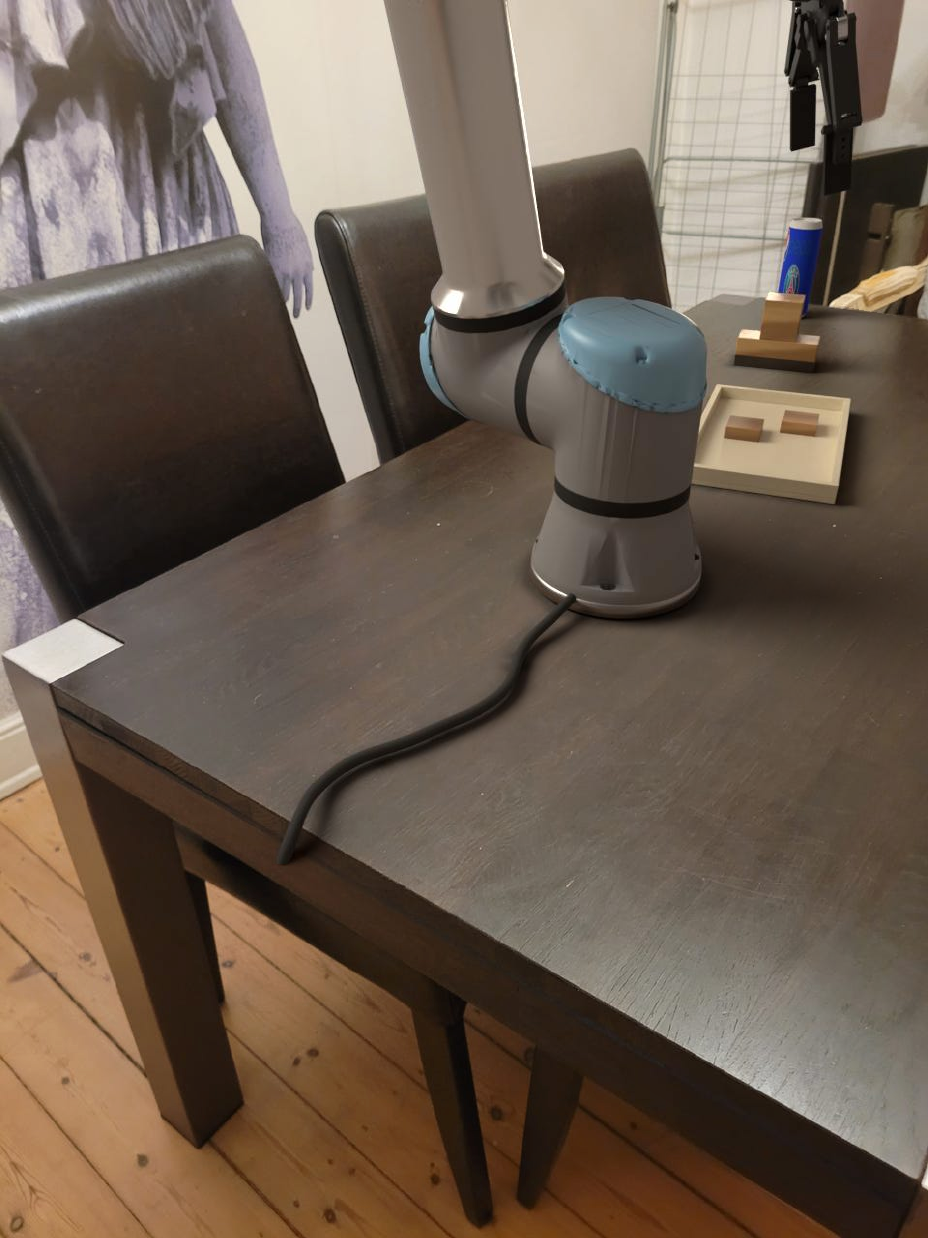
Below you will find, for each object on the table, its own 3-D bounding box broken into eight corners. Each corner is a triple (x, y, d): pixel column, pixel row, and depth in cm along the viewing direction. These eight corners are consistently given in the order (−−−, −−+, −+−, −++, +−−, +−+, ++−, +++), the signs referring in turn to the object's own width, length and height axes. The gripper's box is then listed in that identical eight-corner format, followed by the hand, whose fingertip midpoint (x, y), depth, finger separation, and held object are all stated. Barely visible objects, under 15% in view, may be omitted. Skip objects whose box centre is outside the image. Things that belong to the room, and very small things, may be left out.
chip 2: (814, 437, 110) (817, 425, 109) (779, 432, 111) (781, 420, 110) (817, 425, 113) (819, 413, 112) (783, 421, 114) (785, 409, 113)
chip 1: (758, 442, 108) (760, 430, 108) (723, 438, 110) (725, 426, 109) (762, 430, 111) (764, 418, 111) (728, 426, 113) (730, 414, 112)
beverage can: (767, 313, 157) (783, 218, 149) (791, 309, 159) (808, 215, 151) (788, 320, 153) (805, 223, 145) (813, 316, 155) (830, 220, 147)
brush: (812, 372, 131) (825, 304, 126) (733, 364, 134) (743, 297, 129) (815, 363, 134) (828, 296, 129) (737, 355, 138) (747, 290, 133)
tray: (834, 504, 96) (838, 485, 95) (674, 481, 101) (676, 463, 100) (847, 414, 117) (851, 398, 116) (714, 399, 122) (716, 383, 121)
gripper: (910, -43, 80) (890, 202, 94) (827, -90, 97) (821, 123, 112) (820, -18, 81) (814, 220, 95) (754, -69, 99) (758, 139, 113)
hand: (818, 168), depth 104 cm, fingers open, 13 cm apart
